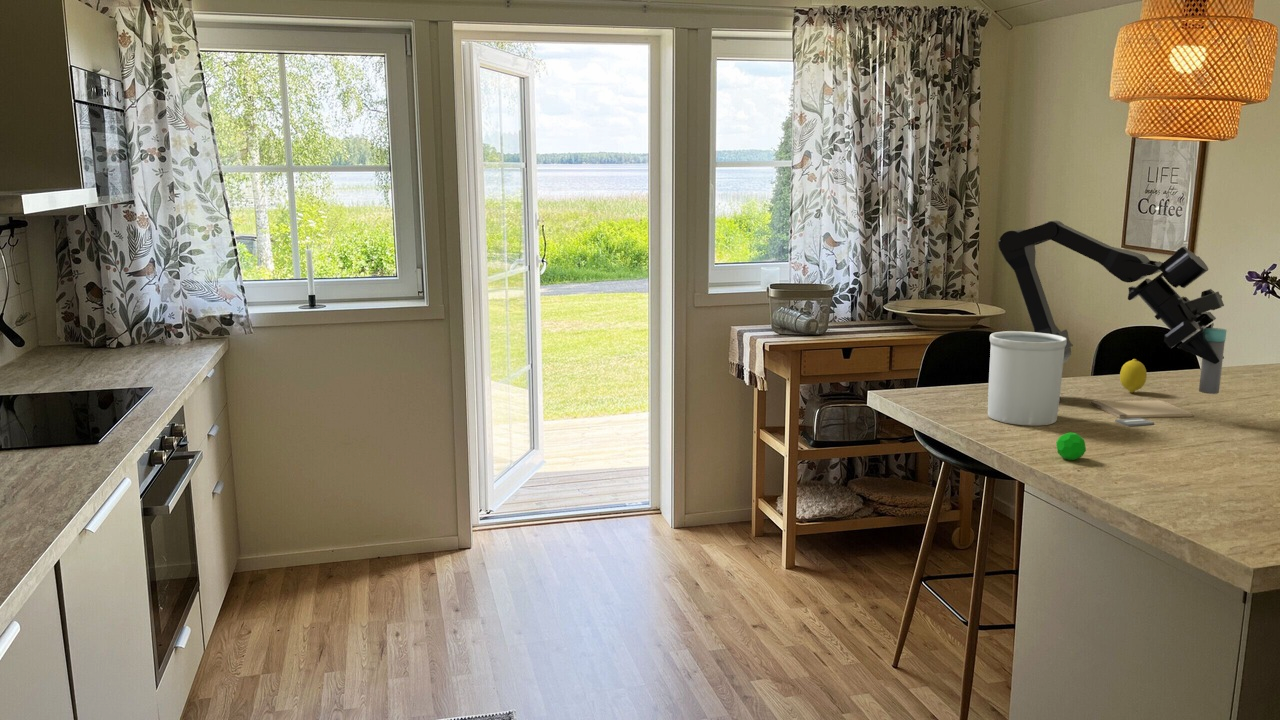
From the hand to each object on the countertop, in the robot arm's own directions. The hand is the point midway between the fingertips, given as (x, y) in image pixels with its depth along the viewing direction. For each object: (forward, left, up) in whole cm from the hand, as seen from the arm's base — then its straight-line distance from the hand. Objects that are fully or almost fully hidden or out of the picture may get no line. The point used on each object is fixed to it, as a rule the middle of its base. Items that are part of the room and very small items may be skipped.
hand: (1219, 361), depth 198 cm
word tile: (-16, +1, -13) cm, 21 cm away
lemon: (-2, +27, -13) cm, 30 cm away
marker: (-1, +1, -7) cm, 7 cm away
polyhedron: (-41, -22, -13) cm, 48 cm away
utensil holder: (-37, +7, -13) cm, 40 cm away
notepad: (-9, +11, -13) cm, 19 cm away
